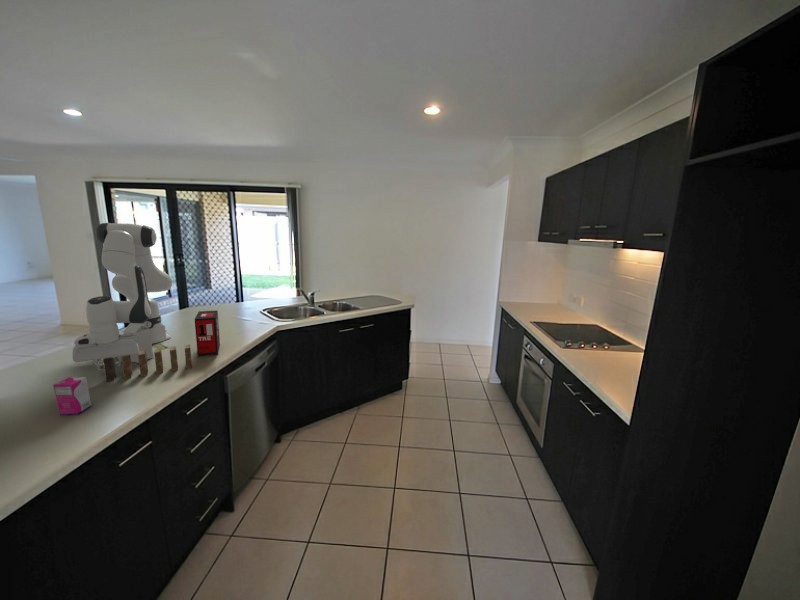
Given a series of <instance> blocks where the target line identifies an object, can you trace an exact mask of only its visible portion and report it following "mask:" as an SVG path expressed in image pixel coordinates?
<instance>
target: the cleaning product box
mask: <svg viewBox="0 0 800 600" xmlns="http://www.w3.org/2000/svg"><path fill="white" fill-rule="evenodd" d="M218 312H219V311H218V310H217V309H216V310H202V311H201V310H200V311H198V312H197V314H196V315H195V317H194V327H195V328H194V329H195V338H196V339H195V340H196V351H197V357H198V358H201V357H209V356H218V355H219V350H220V346H221V342H220V340H221V339H220V327H219V326H220V325H219V313H218Z"/></svg>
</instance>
